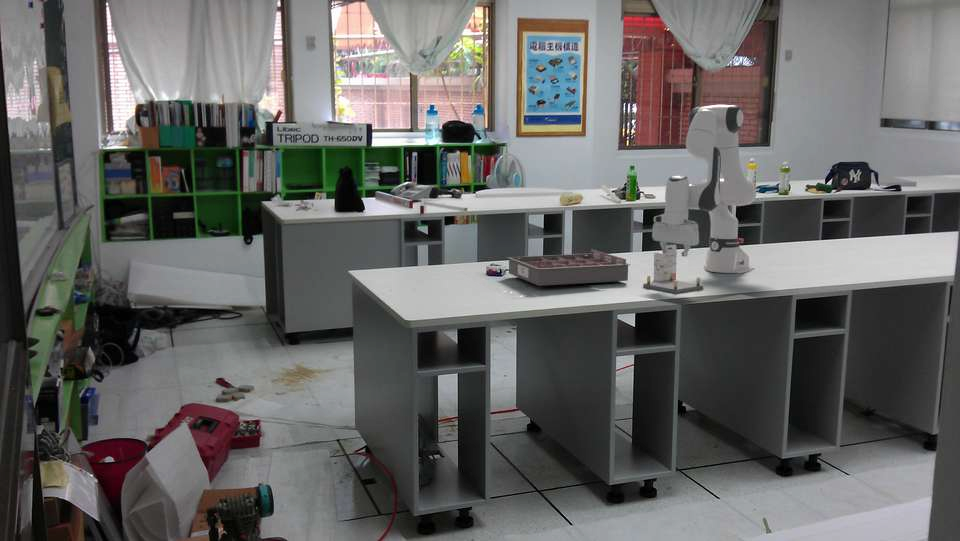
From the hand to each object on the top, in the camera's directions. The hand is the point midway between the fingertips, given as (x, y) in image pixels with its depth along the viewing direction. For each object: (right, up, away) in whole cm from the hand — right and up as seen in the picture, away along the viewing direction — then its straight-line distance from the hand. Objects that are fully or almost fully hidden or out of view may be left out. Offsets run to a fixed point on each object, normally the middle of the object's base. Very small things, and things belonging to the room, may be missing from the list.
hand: (674, 254), depth 340 cm
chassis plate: (0, -13, +2) cm, 13 cm away
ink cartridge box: (0, -10, +20) cm, 22 cm away
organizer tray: (-39, -10, +20) cm, 45 cm away
